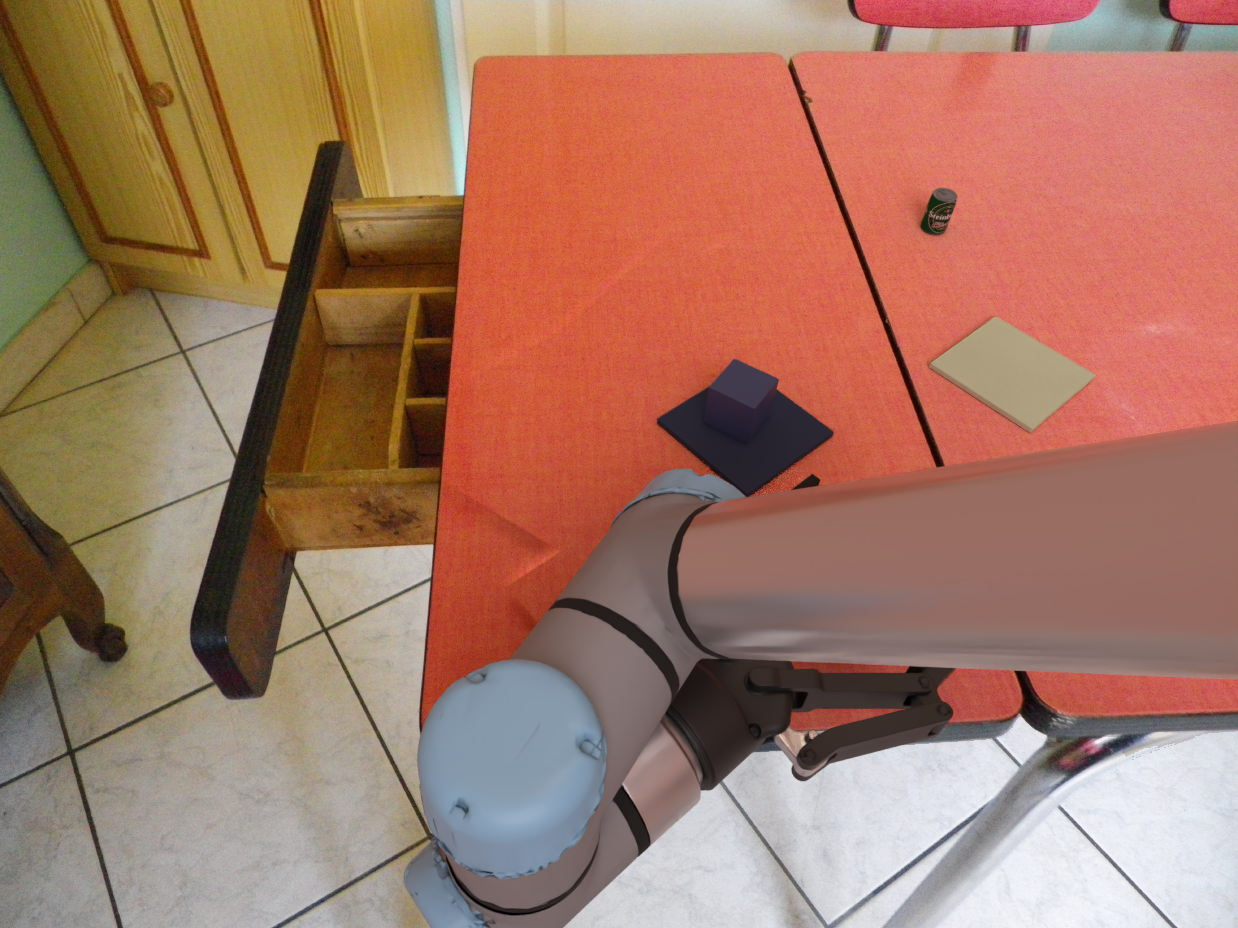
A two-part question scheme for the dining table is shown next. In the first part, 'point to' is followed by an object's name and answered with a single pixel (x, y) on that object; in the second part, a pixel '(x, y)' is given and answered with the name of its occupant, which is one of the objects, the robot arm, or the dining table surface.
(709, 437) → the dark mat
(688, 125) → the dining table surface
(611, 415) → the dining table surface
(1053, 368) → the light mat
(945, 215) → the beer can
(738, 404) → the navy block
